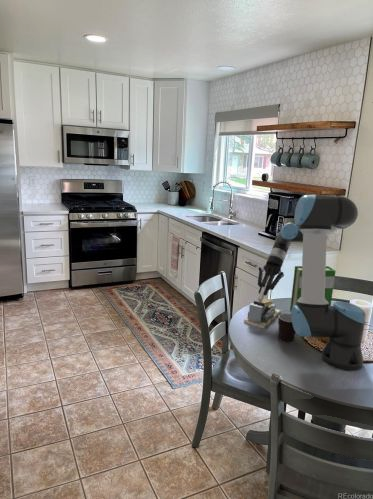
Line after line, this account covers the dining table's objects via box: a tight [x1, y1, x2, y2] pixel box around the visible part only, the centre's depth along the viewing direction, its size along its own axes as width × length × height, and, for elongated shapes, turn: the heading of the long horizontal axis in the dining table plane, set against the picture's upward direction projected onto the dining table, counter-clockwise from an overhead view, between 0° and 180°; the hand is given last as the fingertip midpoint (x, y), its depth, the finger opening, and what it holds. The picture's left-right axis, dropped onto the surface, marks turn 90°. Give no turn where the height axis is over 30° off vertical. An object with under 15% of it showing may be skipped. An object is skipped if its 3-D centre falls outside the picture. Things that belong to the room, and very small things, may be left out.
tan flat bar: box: [253, 297, 274, 309], centre depth 186 cm, size 2×5×14 cm
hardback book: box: [289, 265, 336, 312], centre depth 193 cm, size 18×7×24 cm, turn 95°
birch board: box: [243, 308, 282, 329], centre depth 188 cm, size 22×10×2 cm, turn 147°
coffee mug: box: [277, 313, 297, 343], centre depth 168 cm, size 12×9×10 cm
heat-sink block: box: [247, 302, 277, 324], centre depth 186 cm, size 19×9×8 cm, turn 147°
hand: (259, 300), depth 181 cm, fingers closed
